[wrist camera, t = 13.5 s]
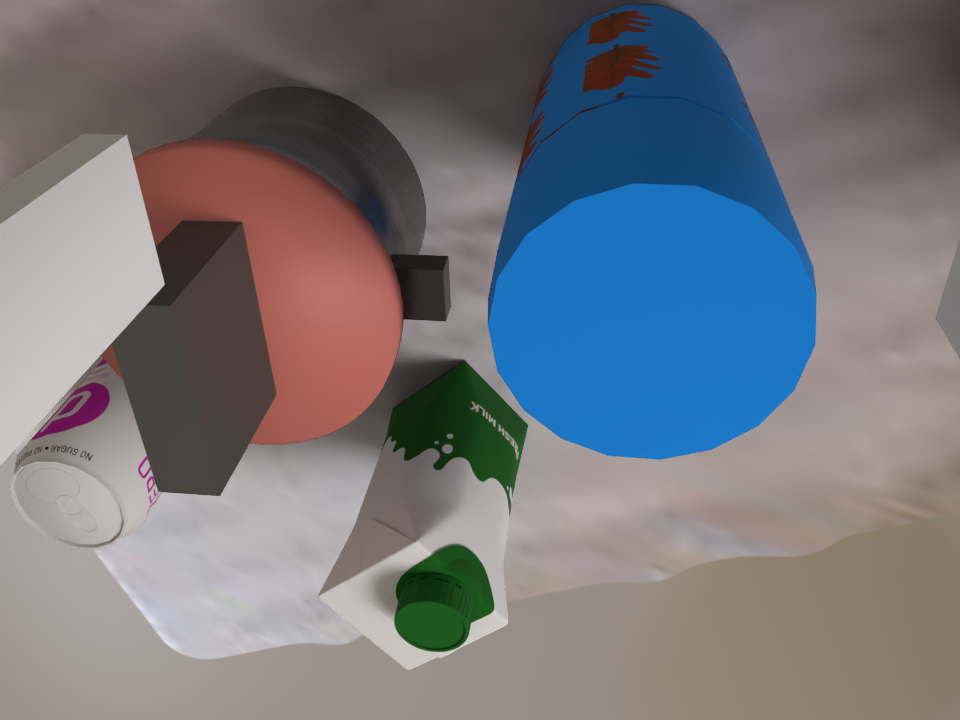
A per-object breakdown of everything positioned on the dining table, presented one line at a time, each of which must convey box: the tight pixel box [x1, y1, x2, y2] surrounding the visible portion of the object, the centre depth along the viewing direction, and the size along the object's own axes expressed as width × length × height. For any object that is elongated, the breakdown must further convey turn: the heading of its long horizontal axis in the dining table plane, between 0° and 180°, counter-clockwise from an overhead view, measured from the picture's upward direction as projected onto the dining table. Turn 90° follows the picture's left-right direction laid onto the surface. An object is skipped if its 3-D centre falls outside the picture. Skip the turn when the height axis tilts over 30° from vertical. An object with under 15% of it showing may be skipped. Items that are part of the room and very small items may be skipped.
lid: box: [101, 139, 403, 496], centre depth 41 cm, size 17×17×10 cm
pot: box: [190, 87, 451, 321], centre depth 50 cm, size 21×16×12 cm
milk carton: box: [318, 361, 528, 670], centre depth 54 cm, size 9×9×20 cm
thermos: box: [488, 5, 816, 459], centre depth 38 cm, size 11×11×25 cm
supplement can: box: [10, 359, 162, 549], centre depth 57 cm, size 8×8×15 cm
